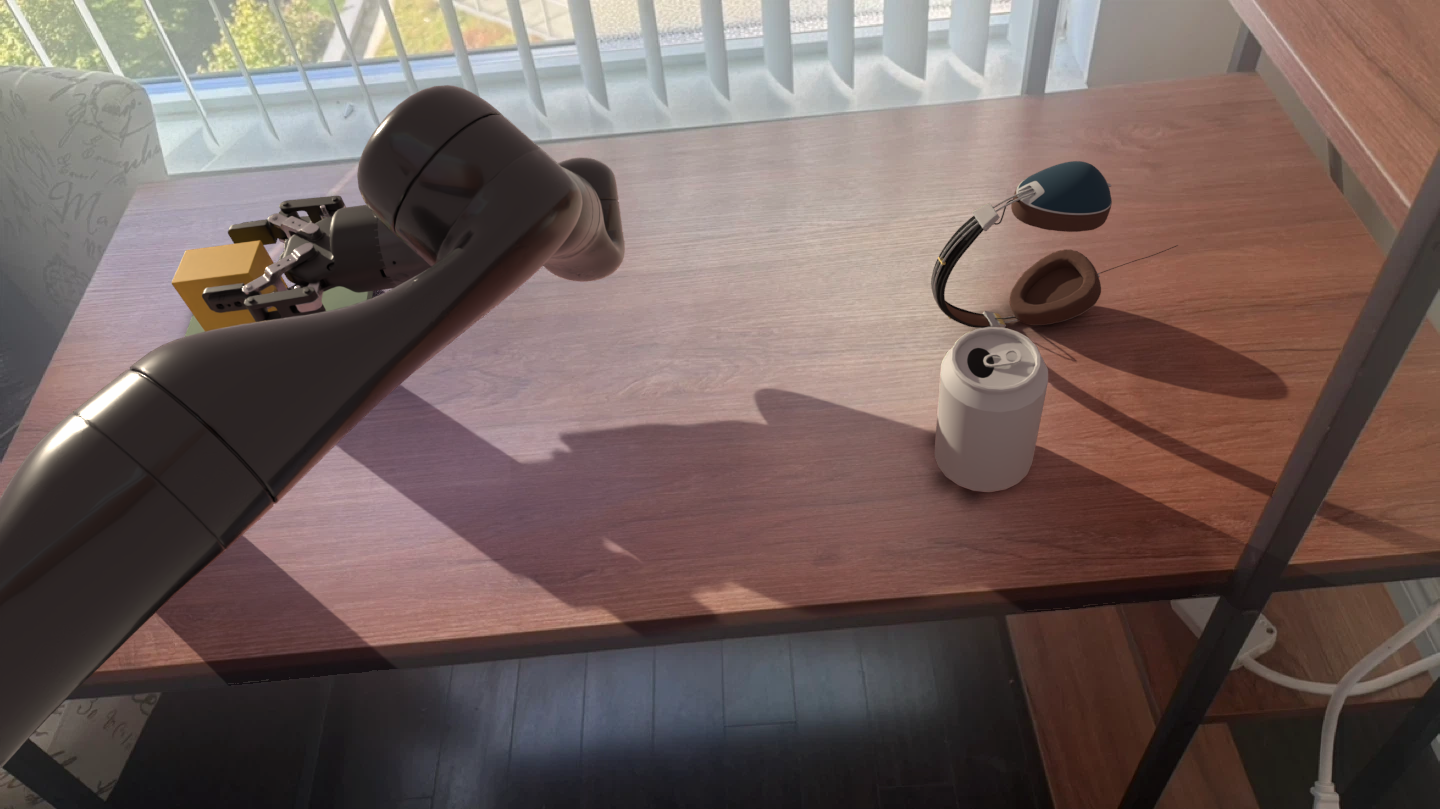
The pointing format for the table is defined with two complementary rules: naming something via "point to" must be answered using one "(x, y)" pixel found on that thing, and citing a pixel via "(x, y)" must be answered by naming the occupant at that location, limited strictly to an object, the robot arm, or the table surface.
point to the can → (989, 408)
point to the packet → (220, 279)
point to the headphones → (1060, 278)
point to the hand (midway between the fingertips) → (220, 267)
